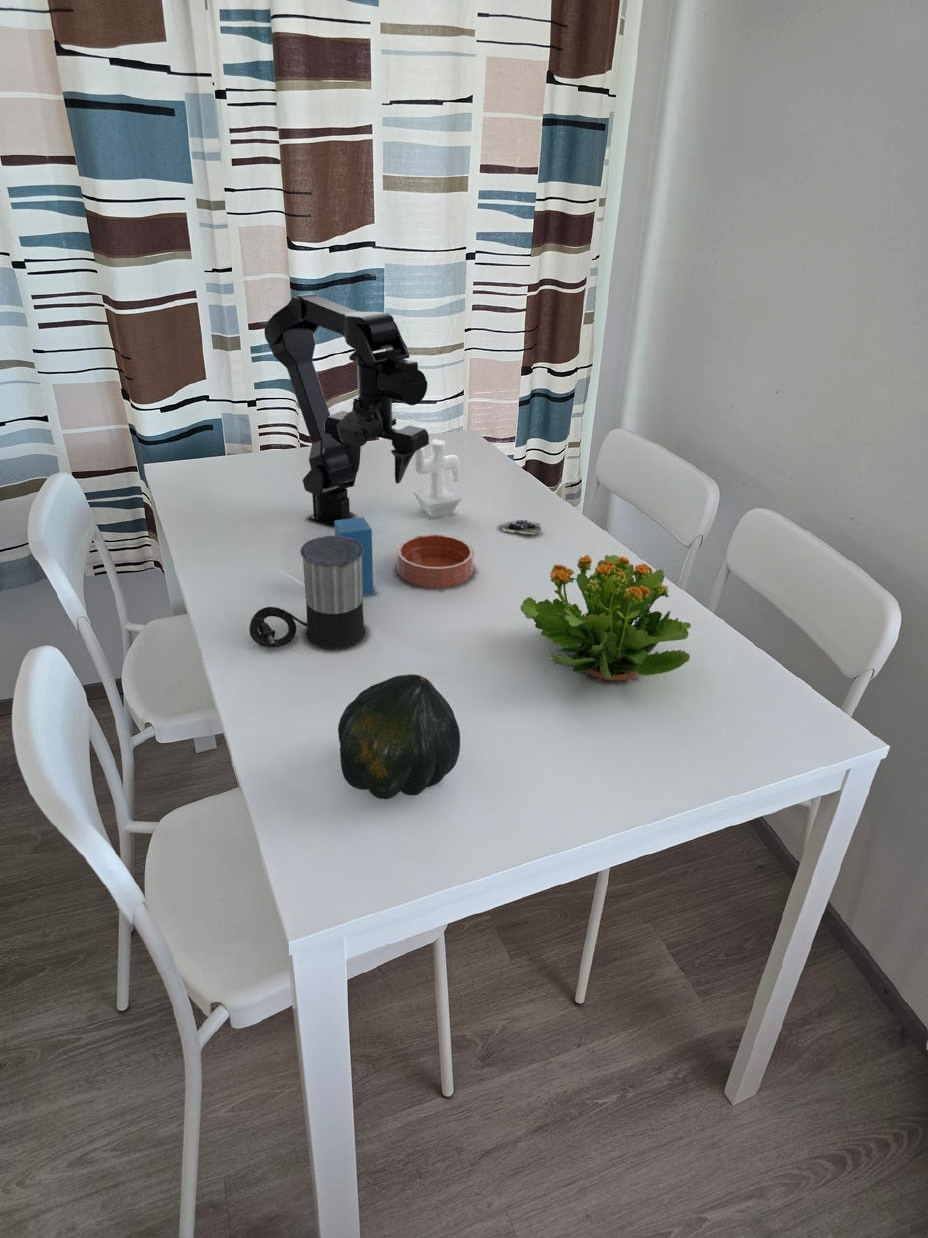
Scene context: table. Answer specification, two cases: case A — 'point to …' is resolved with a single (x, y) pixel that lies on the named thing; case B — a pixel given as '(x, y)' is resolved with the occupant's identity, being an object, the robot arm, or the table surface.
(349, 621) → the milk frother
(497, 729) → the table surface
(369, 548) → the blue rectangular block
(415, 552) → the terracotta bowl
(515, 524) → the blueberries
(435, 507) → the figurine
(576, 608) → the potted flower
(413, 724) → the squash
